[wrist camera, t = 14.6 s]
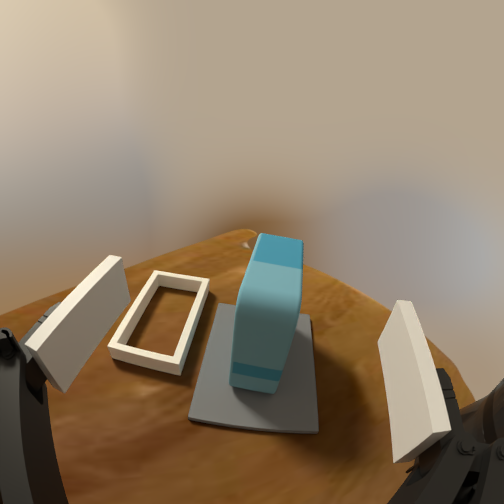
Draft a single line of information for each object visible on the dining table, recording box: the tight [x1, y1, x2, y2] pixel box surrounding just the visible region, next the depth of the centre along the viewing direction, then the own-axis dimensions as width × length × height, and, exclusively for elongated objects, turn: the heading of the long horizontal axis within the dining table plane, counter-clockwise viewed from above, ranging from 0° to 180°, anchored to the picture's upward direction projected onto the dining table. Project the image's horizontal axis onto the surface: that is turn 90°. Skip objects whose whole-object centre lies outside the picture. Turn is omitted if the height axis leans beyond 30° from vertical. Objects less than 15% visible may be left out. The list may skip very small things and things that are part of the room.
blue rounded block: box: [229, 233, 303, 394], centre depth 27 cm, size 12×4×12 cm, turn 170°
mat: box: [188, 303, 319, 434], centre depth 29 cm, size 12×17×1 cm
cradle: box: [108, 270, 209, 376], centre depth 33 cm, size 8×15×2 cm, turn 175°
